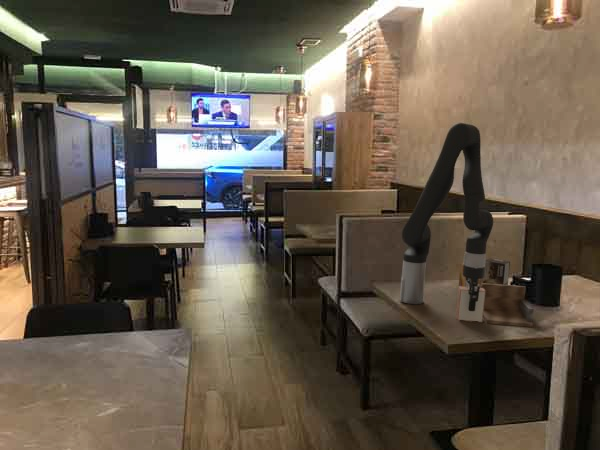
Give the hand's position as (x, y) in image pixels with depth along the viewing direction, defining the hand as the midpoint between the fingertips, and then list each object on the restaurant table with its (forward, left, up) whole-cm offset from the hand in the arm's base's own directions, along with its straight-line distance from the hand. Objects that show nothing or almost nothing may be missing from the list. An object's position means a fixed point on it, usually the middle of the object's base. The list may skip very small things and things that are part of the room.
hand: (470, 307), depth 183 cm
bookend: (+14, +5, -5) cm, 15 cm away
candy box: (+4, +23, -5) cm, 23 cm away
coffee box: (+16, +32, -5) cm, 36 cm away
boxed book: (0, 0, -5) cm, 5 cm away
